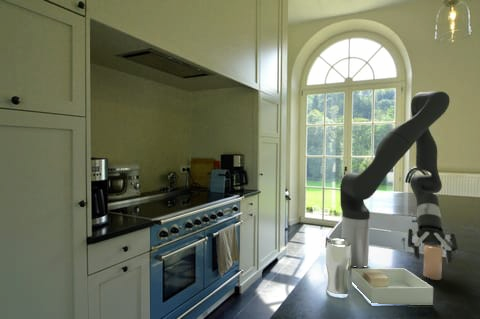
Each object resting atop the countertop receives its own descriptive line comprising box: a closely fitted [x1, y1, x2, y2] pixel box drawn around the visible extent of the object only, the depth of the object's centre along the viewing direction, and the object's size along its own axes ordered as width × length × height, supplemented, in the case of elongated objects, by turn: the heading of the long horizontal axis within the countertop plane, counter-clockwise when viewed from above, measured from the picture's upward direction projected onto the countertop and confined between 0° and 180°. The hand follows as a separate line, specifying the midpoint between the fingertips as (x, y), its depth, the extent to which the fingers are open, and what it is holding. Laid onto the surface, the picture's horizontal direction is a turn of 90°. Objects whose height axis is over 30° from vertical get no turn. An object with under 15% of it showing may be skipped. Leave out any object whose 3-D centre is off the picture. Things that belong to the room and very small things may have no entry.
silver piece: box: [325, 238, 351, 294], centre depth 86 cm, size 7×7×15 cm
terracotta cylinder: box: [422, 244, 443, 281], centre depth 99 cm, size 5×5×10 cm
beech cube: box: [362, 271, 388, 288], centre depth 86 cm, size 5×5×5 cm
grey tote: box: [351, 267, 434, 305], centre depth 86 cm, size 17×13×5 cm
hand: (433, 260), depth 98 cm, fingers open, 8 cm apart
